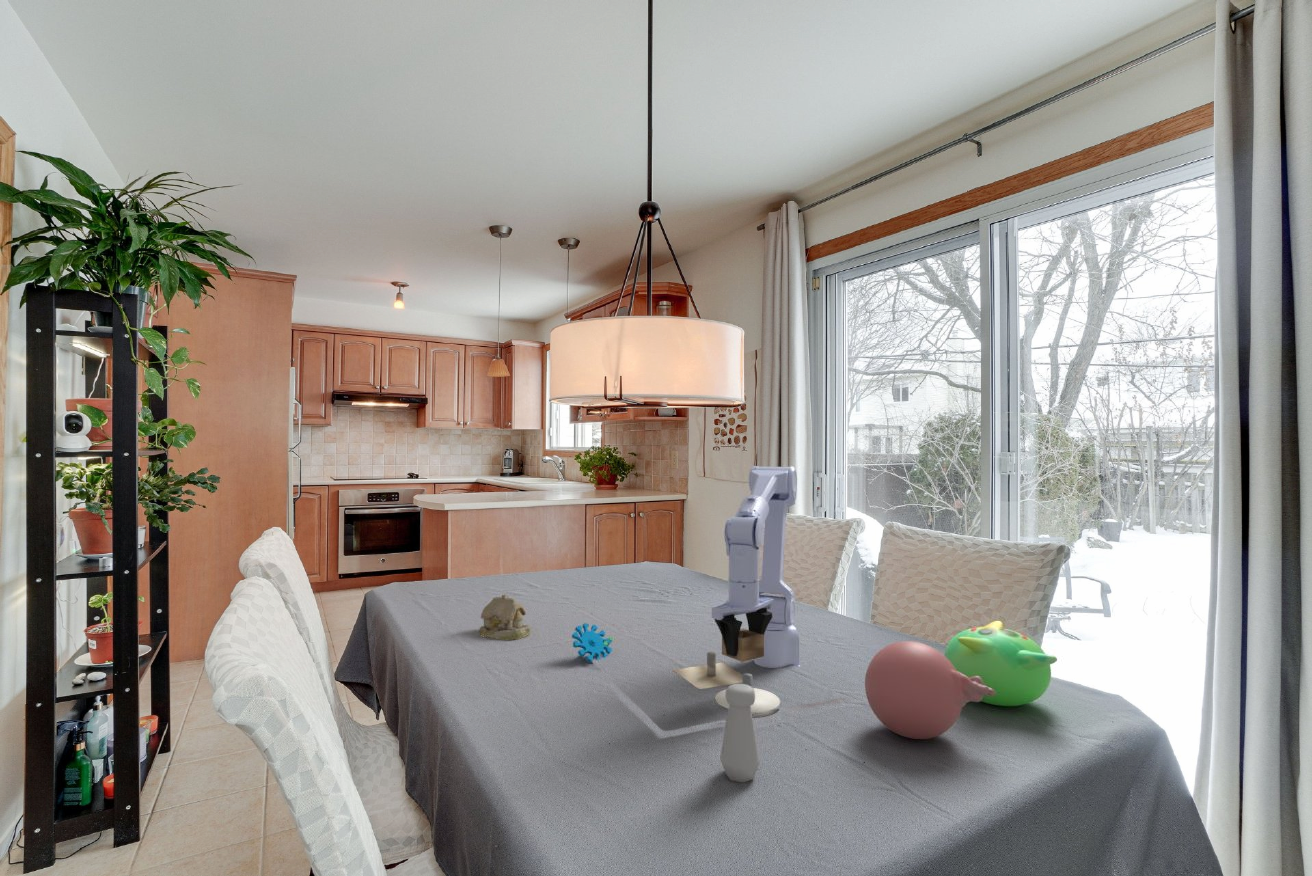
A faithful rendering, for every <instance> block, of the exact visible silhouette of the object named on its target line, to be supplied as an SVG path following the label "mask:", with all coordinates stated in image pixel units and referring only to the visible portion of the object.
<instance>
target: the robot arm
mask: <svg viewBox="0 0 1312 876" xmlns="http://www.w3.org/2000/svg"><path fill="white" fill-rule="evenodd" d="M797 473H798V472H797V470H796V469H795V467H794V465H793V466H791V465H790V466H757V465H753V466H752V467H751V469H750V470H749V473H748V487H749V490H750V493H751V494H750V495H747V496H746V497H745V498H744V499H743V500H742V502H741V503H740V505H739V508H738V510H737V511H736V513H735V516H733V515H732V516H731V517H730V518H727V520H726V521H725V525H724V532H723V533H724V542H725V547H726V550H725V551H726V556H727V557H728V599H726V601H725V602H724V603H721V604H720V605H717V606H714V607H711V618H712V619H714V622H715V624H716V625H717V627H718V629H719V632H720V634H721V638H722V637H723V640H724V644H725V648H726V652H727V654H728V655H731V656H733V657H735V656H737V651H738V637H739V632H740V629H742V628H741V627H742V624H743V621H742V620H738V619H737V617H735V616H741V615H745V616H746V620H747V626H748V630H750V631H753V632H756V633H759V634H762V635H764V656H763V657H759V658H756V659H753V662H754V664H755V665H757V666H760V667H763V668H770V669H779V668H784V667H786V666H791V665H795V666H797V667H799V668H802V665H800V636H799V632H798V630H797V627H795V625H794V621H795V616H796V602H795V596H796V595H795V593H794V590H793V589H792V588H791V587H790V586H789V585H787V584H786V583H785V582H784V579H783V577H784V561H785V560H784V559H785V558H784V557H785V543H786V542H785V541H786V522H787V514H788V511H789V507H790V508H791V507H793V506H794V505H796V501H797V491H798V474H797ZM762 544H763V545H762ZM762 546H763V547H762ZM761 547H762V549H763V550H762V563H761V564H762V565H761V576H760V548H761ZM760 577H761V578H760ZM767 594H770V595H767ZM772 594H773V595H772ZM777 595H781V596H777Z"/></svg>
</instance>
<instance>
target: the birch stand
mask: <svg viewBox="0 0 1312 876" xmlns="http://www.w3.org/2000/svg"><path fill="white" fill-rule="evenodd" d="M716 654H717V653H716V652H715V651H714V652H713V651H707V652H706V664H704V665H697V666H690V667H684V668H676V669H672V671H673V672H675V673H676V674H677V675H679V676H680V677H681V678H683V679H684V680H685V681H686V682H688V683H689V684H690V685H693V686H694V687H695V688H697V690H705V689H711V688H717V687H723V686H728V685H729V686H730V685H732V684H743V673H740V672H739V671H737V670H735V669H733V668H732V667H731V666H728V665H727V664H725V663H724V662H717V658H716V656H717V655H716ZM716 662H717V663H716Z"/></svg>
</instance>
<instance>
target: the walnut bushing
mask: <svg viewBox="0 0 1312 876" xmlns="http://www.w3.org/2000/svg"><path fill="white" fill-rule="evenodd" d="M721 655H722V656H725V657H727V658H728V657H729V658H730V659H734V660H736V661H739V662H740V663H741V662H742V663H744V662H748V661H751V660H754V659H756V658H759V657H763V656H764V635H762V634H759V633H756V632H753V631H750V630H749V629H746V628H740V632H739V637H738V651H737V656H735V657H733V656H731V655H728V654H727V652H726V648H725V644H724V640H723V637H722V636H721Z"/></svg>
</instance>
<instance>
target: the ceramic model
mask: <svg viewBox="0 0 1312 876" xmlns="http://www.w3.org/2000/svg"><path fill="white" fill-rule="evenodd" d="M526 614H527V613H526V610H525V608H524V607H523V605H522V604H520V603H519V602H518V601H517V600H516V599H515V598H510V597H509V595H508V594H502V595H501V596H494V597H493V598H492V600H491V601H490V602H489V603H488V604H487V605H486V606H484V608H483V609H482V612H481V615H480V619H482V620H483V625H482V626H480V627H479V630H478V634H479V635H480V634H481V635H482V636H484V637H483V638H485V637H492V638H498V639H497V640H501V639H517V640H520V639H519V638H521V639H523V638H525V637H527V635H528V636H529V635H530V633H531V626H530V625H526V624H523V622H524V621H523V620H524V616H525V615H526ZM481 635H480V636H481ZM482 636H481V637H482ZM522 637H523V638H522ZM492 638H491V639H492Z"/></svg>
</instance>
